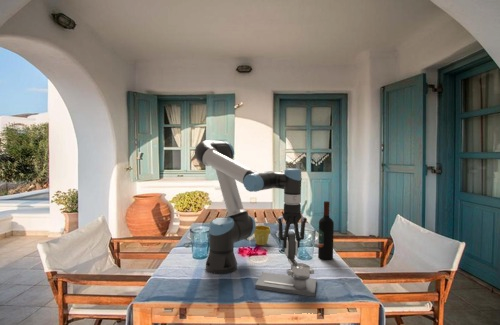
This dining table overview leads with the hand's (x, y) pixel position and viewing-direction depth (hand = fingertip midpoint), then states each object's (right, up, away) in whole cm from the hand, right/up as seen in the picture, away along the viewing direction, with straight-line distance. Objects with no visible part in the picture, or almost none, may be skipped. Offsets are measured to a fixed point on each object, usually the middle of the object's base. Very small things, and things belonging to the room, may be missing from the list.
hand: (291, 254), depth 133 cm
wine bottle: (+21, -9, +24) cm, 33 cm away
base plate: (-3, -10, -8) cm, 13 cm away
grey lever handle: (+1, -5, -7) cm, 9 cm away
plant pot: (-12, -8, +47) cm, 49 cm away
